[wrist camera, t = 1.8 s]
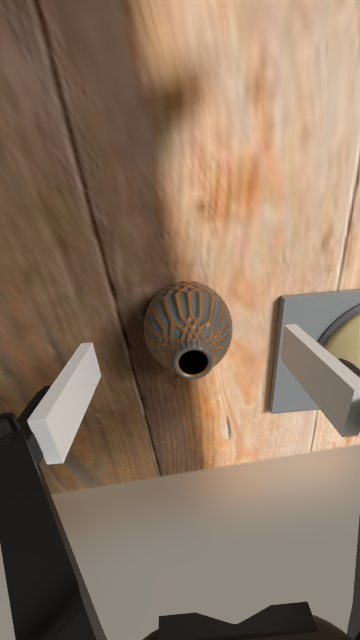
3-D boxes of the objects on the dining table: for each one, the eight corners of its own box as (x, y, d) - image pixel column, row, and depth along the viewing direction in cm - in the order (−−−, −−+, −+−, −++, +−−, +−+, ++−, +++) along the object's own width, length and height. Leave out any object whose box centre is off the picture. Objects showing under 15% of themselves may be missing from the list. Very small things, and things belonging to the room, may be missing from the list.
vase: (218, 341, 24) (243, 406, 16) (149, 341, 23) (139, 408, 15) (224, 272, 21) (258, 310, 13) (146, 272, 21) (131, 311, 13)
